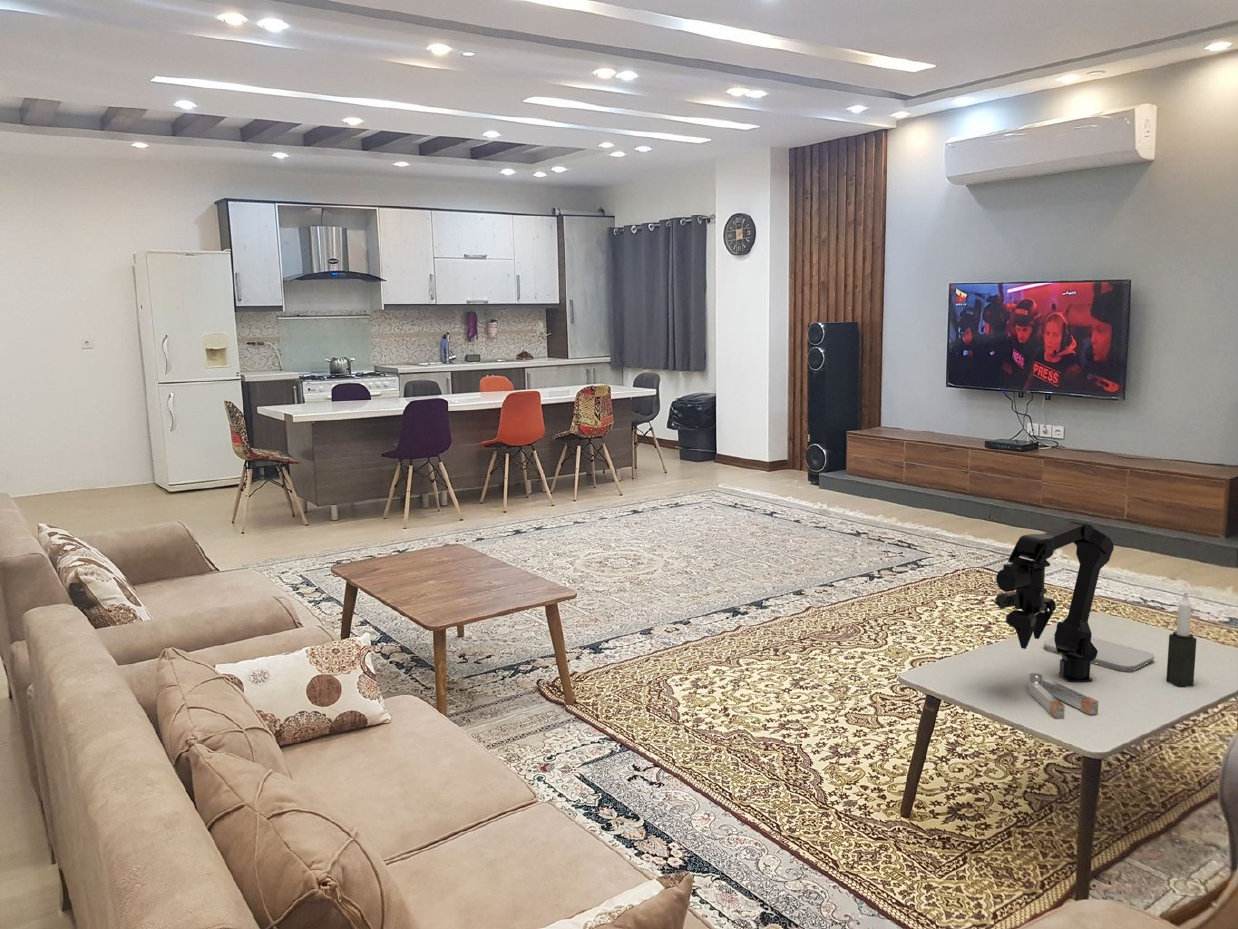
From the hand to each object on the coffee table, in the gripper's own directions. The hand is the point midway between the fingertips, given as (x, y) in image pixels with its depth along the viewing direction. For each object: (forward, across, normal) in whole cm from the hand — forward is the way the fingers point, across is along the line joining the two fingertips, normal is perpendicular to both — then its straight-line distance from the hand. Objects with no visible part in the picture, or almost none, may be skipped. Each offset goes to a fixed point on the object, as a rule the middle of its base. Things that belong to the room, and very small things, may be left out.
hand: (1030, 643), depth 244 cm
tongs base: (+13, +4, +6) cm, 15 cm away
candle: (+14, -31, +28) cm, 44 cm away
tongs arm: (+13, +1, +10) cm, 17 cm away
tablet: (+14, -40, +5) cm, 43 cm away
